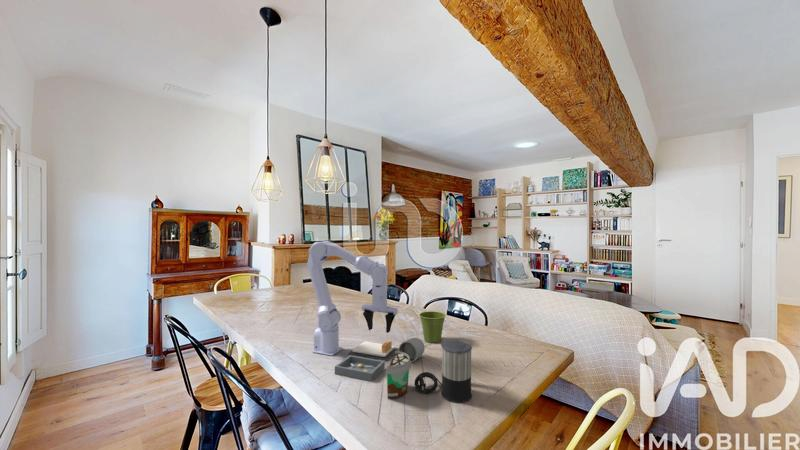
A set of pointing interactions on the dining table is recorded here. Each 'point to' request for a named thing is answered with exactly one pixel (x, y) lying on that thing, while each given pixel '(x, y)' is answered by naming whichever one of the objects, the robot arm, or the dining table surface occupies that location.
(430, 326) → the plant pot
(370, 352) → the lid
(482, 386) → the dining table surface
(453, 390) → the milk frother
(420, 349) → the ceramic mug
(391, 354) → the mat
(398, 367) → the food container
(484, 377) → the dining table surface
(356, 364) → the dark grey tray
